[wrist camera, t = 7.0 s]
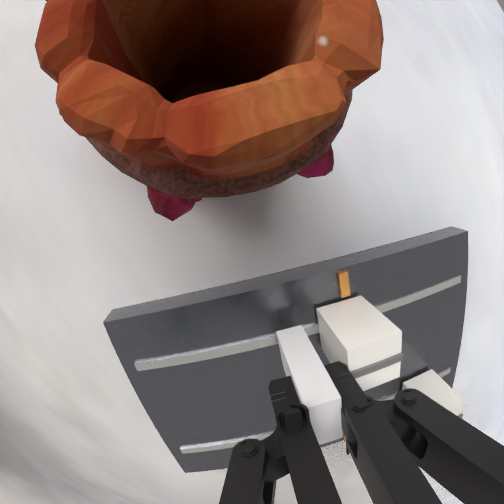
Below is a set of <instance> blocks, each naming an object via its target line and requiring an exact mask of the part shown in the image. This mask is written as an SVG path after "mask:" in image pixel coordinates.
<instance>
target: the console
mask: <svg viewBox="0 0 504 504" xmlns="http://www.w3.org/2000/svg"><path fill="white" fill-rule="evenodd" d="M467 273H468V231H466V230H462V229H459V228H455V227H448V228H445V229H441V230H438V231H434V232H431V233H427V234H424V235H420V236H416V237H413V238H409V239H405V240H402V241H398V242H394V243H391V244H387V245H383V246H380V247H376V248H372V249H368V250H365V251H361V252H357V253H353V254H349V255H345V256H342V257H338V258H334V259H330V260H326V261H322V262H318V263H314V264H310V265H306V266H302V267H298V268H294V269H290V270H286V271H282V272H278V273H274V274H270V275H265V276H261V277H257V278H253V279H249V280H244V281H240V282H236V283H232V284H227V285H223V286H219V287H214V288H210V289H206V290H201V291H197V292H192V293H188V294H183V295H179V296H174V297H170V298H165V299H160V300H156V301H151V302H146V303H142V304H137V305H132V306H127V307H123V308H118V309H113V310H112V311H111V312H110V314H109V315H108V316H107V318H106V319H105V320H104V322H103V323H104V325H105V328H106V330H107V333H108V335H109V337H110V340H111V342H112V344H113V346H114V349H115V351H116V353H117V355H118V357H119V359H120V362H121V364H122V366H123V368H124V370H125V372H126V374H127V376H128V378H129V380H130V382H131V384H132V386H133V388H134V390H135V392H136V394H137V395H138V397H139V399H140V401H141V403H142V405H143V406H144V408H145V410H146V412H147V414H148V415H149V417H150V419H151V420H152V422H153V424H154V426H155V427H156V429H157V431H158V432H159V434H160V435H161V437H162V439H163V440H164V442H165V443H166V445H167V447H168V448H169V450H170V451H171V453H172V454H173V456H174V457H175V459H176V460H177V462H178V463H179V465H180V466H181V468H182V469H183V470H184V472H185V473H187V472H198V471H208V470H216V469H224V468H228V466H229V462H230V458H231V454H232V450H233V448H234V446H235V445H236V444H237V443H238V442H240V441H242V440H244V439H250V438H253V439H258V440H260V441H261V440H263V439H265V438H267V437H268V436H270V435H271V434H272V433H273V432H274V431H275V429H276V426H277V422H276V418H275V413H274V409H273V405H272V401H271V397H270V393H269V389H268V387H269V384H270V382H271V380H275V379H279V378H283V377H286V374H285V371H284V367H283V362H282V358H281V353H280V348H279V343H278V339H277V334H276V331H280V330H284V329H288V328H291V327H295V326H299V325H302V327H303V329H304V331H305V332H306V334H307V336H308V338H309V340H310V342H311V343H312V345H313V347H314V349H315V351H316V352H317V354H318V356H319V358H320V360H321V362H322V363H323V365H327V364H330V362H329V360H328V359H327V357H326V355H325V354H324V352H323V350H322V348H321V340H320V332H319V324H318V317H317V310H316V308H319V307H323V306H326V305H330V304H333V303H337V302H340V301H344V300H347V299H350V298H354V297H357V296H360V295H361V296H362V297H364V298H365V299H366V300H367V301H368V302H369V303H371V304H372V305H373V306H374V307H375V308H376V309H377V310H379V311H380V312H381V313H382V314H383V315H384V316H385V317H387V318H388V319H389V320H390V321H391V322H392V323H393V324H394V325H396V326H397V327H398V328H399V329H400V330H401V331H402V347H401V353H402V354H403V360H402V361H401V365H400V377H398V378H396V379H393V380H391V381H388V382H386V383H383V384H381V385H378V386H376V387H373V388H371V389H368V390H365V391H363V392H364V393H365V395H366V396H369V397H372V398H373V399H374V400H377V401H384V400H391V399H394V398H395V395H396V394H397V393H398V392H399V391H401V390H402V386H403V382H405V381H407V380H410V379H412V378H414V377H416V376H418V375H420V374H423V373H425V372H427V371H429V370H431V369H432V370H433V371H435V372H436V373H437V374H438V375H439V376H440V377H441V378H442V379H443V380H444V381H445V382H446V383H447V384H448V385H449V386H450V387H451V388H452V386H453V382H454V377H455V372H456V367H457V362H458V357H459V351H460V345H461V338H462V331H463V323H464V314H465V304H466V291H467ZM342 440H344V441H346V437H345V435H344V433H343V438H340V439H337V440H334V441H331V442H328V443H324V444H321V445H319V446H320V447H323V446H326V445H330V444H333V443H336V442H339V441H342Z"/></svg>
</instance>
